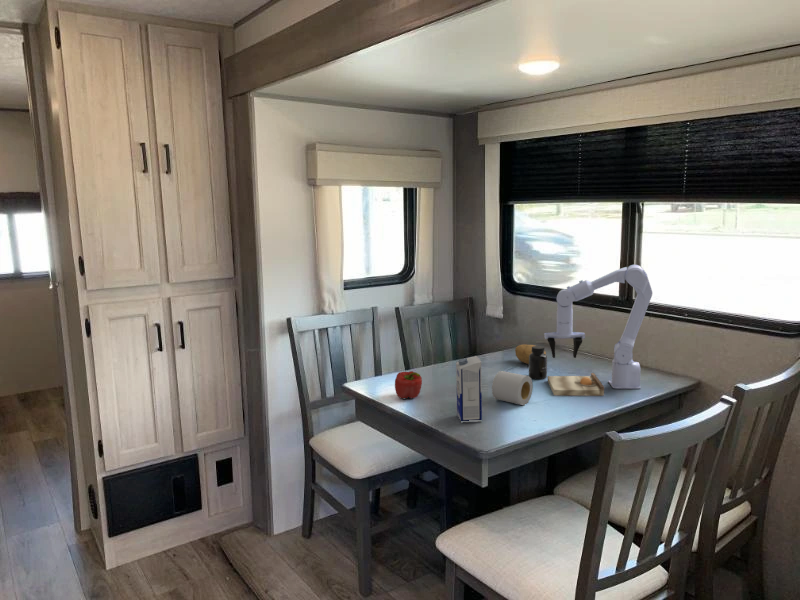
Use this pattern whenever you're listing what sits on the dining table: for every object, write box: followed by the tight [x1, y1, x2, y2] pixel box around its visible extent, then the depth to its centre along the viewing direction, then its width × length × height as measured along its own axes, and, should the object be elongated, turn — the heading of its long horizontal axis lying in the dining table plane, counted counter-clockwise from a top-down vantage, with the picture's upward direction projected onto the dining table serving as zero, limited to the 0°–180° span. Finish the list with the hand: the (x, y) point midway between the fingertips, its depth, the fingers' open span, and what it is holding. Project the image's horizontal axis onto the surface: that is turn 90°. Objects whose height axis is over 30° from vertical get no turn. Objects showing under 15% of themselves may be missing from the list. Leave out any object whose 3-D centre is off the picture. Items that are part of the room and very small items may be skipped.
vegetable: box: [394, 371, 423, 399], centre depth 210 cm, size 11×10×10 cm
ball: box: [580, 377, 592, 385], centre depth 214 cm, size 4×4×4 cm
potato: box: [514, 343, 547, 365], centre depth 245 cm, size 10×14×8 cm
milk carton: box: [455, 355, 483, 421], centre depth 187 cm, size 7×7×20 cm
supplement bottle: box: [528, 345, 548, 380], centre depth 227 cm, size 7×7×12 cm
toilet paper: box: [491, 370, 534, 406], centre depth 202 cm, size 10×10×10 cm
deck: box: [547, 372, 605, 397], centre depth 214 cm, size 18×16×3 cm
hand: (564, 357), depth 221 cm, fingers open, 7 cm apart
